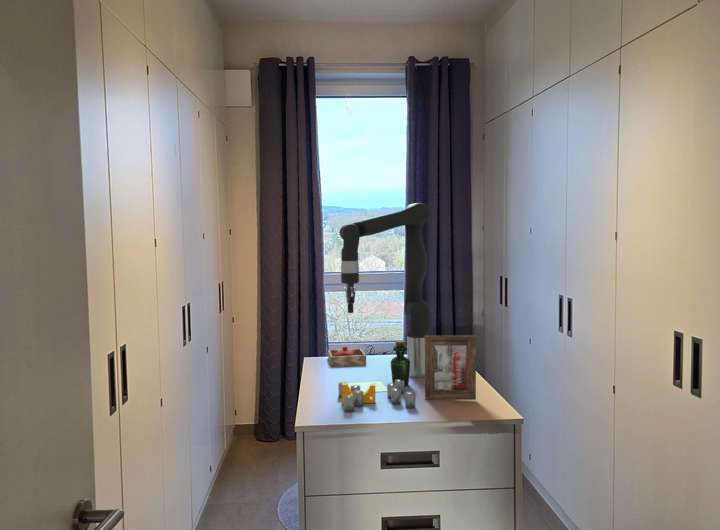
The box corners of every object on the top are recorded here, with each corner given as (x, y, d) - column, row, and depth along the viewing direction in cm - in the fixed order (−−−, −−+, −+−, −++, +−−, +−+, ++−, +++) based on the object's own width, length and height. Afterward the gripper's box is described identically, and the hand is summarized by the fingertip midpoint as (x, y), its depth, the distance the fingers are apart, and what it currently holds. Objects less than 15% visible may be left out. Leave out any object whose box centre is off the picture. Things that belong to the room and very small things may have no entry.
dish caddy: (361, 358, 259) (361, 348, 259) (366, 365, 244) (366, 355, 243) (328, 360, 256) (328, 350, 256) (331, 367, 241) (331, 357, 241)
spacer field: (403, 391, 202) (402, 378, 202) (416, 408, 181) (416, 394, 181) (338, 395, 198) (337, 382, 198) (344, 412, 178) (344, 398, 177)
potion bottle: (393, 381, 216) (393, 338, 215) (412, 382, 213) (412, 339, 213) (388, 386, 209) (387, 342, 208) (407, 388, 206) (407, 343, 205)
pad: (381, 381, 216) (381, 381, 216) (387, 391, 202) (387, 390, 202) (343, 383, 214) (343, 383, 213) (347, 393, 200) (347, 393, 200)
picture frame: (425, 399, 191) (424, 336, 190) (425, 398, 193) (424, 335, 192) (475, 399, 190) (475, 336, 189) (475, 398, 192) (474, 335, 191)
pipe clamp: (341, 403, 187) (341, 386, 186) (343, 399, 191) (342, 382, 190) (374, 404, 186) (374, 387, 185) (375, 400, 190) (375, 383, 189)
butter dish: (331, 366, 245) (330, 348, 244) (336, 360, 256) (335, 343, 256) (354, 367, 243) (354, 349, 242) (358, 361, 254) (358, 344, 254)
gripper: (361, 272, 210) (361, 314, 211) (356, 270, 223) (357, 310, 224) (342, 272, 209) (343, 315, 210) (339, 271, 222) (339, 311, 223)
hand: (350, 312), depth 217 cm, fingers closed
